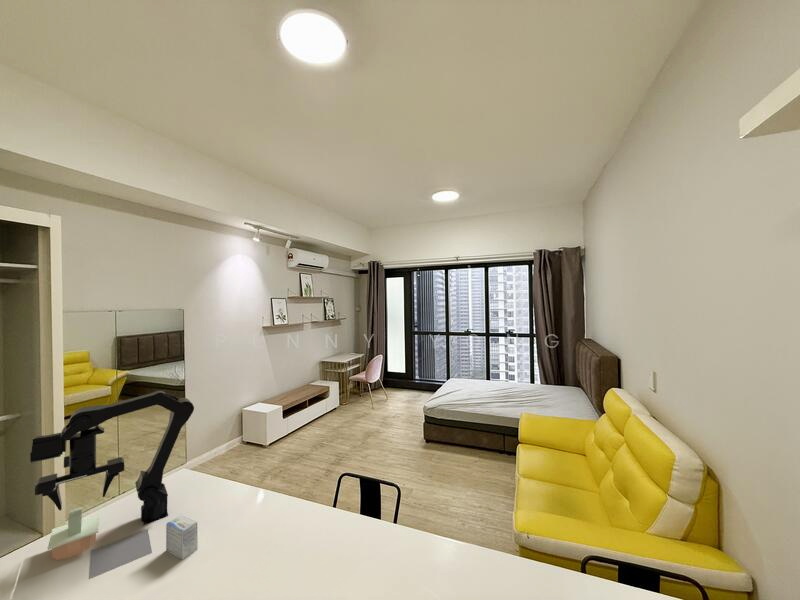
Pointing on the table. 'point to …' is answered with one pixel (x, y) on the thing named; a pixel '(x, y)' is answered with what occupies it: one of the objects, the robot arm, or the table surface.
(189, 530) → the medicine box
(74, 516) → the mint green lid
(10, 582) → the table surface
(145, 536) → the mat
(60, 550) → the bowl
